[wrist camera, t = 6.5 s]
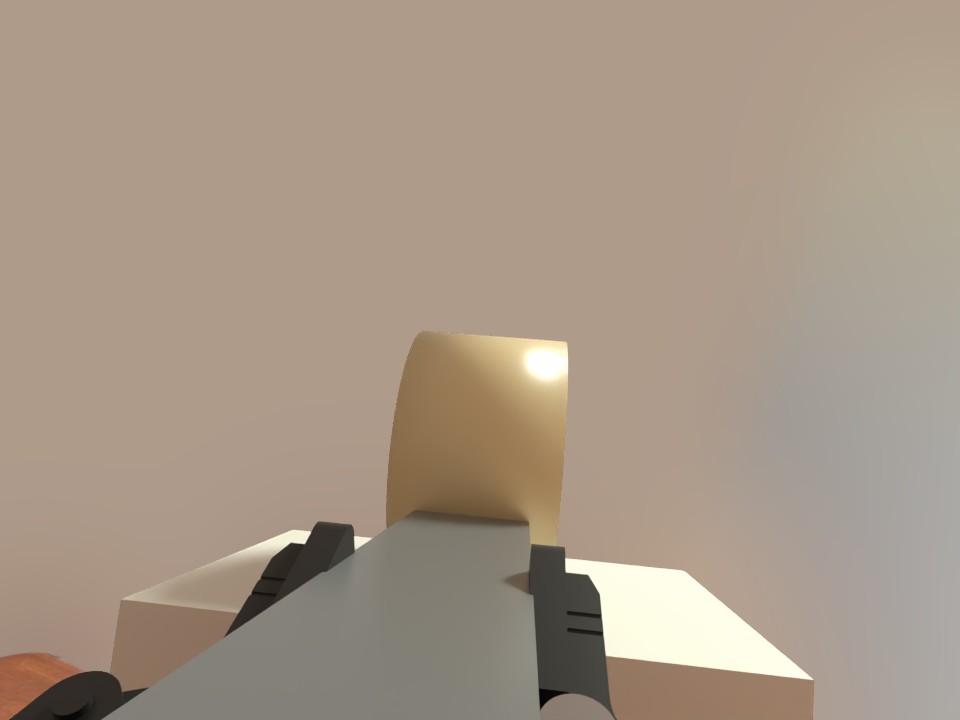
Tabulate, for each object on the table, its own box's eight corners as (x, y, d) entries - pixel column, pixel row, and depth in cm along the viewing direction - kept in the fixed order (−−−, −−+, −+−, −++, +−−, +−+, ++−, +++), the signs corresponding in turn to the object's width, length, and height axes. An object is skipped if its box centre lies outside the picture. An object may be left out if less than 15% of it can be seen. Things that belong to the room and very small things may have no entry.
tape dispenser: (422, 547, 31) (441, 348, 32) (543, 559, 30) (558, 357, 32) (-227, 1248, 4) (29, -92, 5) (679, 1446, 4) (744, -76, 5)
